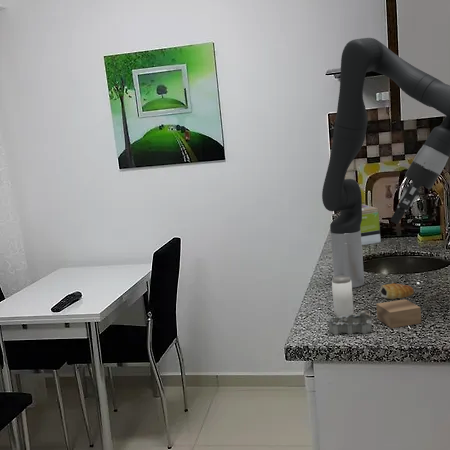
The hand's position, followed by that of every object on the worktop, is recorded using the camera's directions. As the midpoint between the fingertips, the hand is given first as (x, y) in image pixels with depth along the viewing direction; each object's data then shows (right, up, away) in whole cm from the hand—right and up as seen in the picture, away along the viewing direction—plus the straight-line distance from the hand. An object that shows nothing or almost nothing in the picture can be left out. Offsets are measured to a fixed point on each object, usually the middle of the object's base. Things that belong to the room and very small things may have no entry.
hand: (394, 221), depth 155 cm
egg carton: (-13, -27, -9) cm, 32 cm away
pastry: (+5, -22, +15) cm, 27 cm away
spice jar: (-13, -25, +4) cm, 28 cm away
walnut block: (-1, -25, -7) cm, 26 cm away
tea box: (+14, -8, +94) cm, 95 cm away
